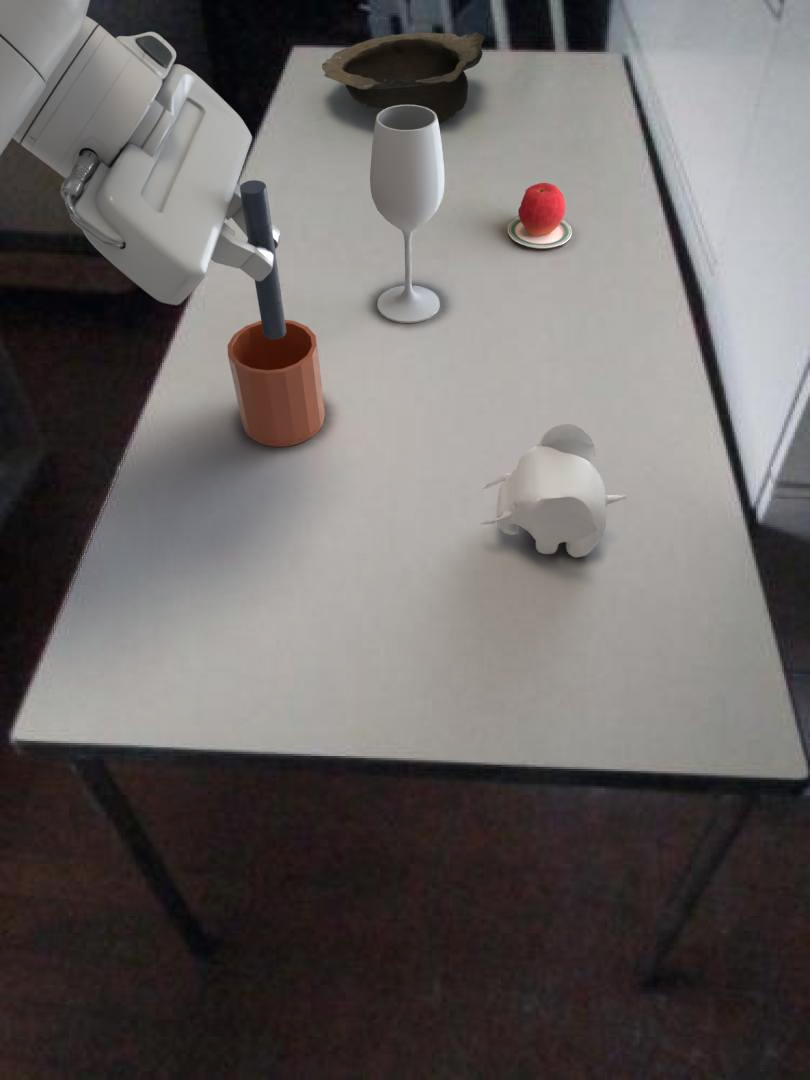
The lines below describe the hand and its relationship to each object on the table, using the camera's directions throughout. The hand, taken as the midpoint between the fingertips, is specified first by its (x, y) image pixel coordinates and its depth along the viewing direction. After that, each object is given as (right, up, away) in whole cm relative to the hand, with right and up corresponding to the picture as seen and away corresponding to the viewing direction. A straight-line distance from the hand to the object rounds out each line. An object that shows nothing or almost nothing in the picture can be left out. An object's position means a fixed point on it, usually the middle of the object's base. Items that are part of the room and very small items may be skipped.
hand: (271, 258), depth 62 cm
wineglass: (+10, +7, +36) cm, 38 cm away
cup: (-2, -8, +24) cm, 25 cm away
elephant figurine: (+22, -20, +14) cm, 33 cm away
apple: (+27, +18, +46) cm, 56 cm away
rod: (-1, -4, +5) cm, 7 cm away
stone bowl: (+9, +48, +72) cm, 87 cm away
